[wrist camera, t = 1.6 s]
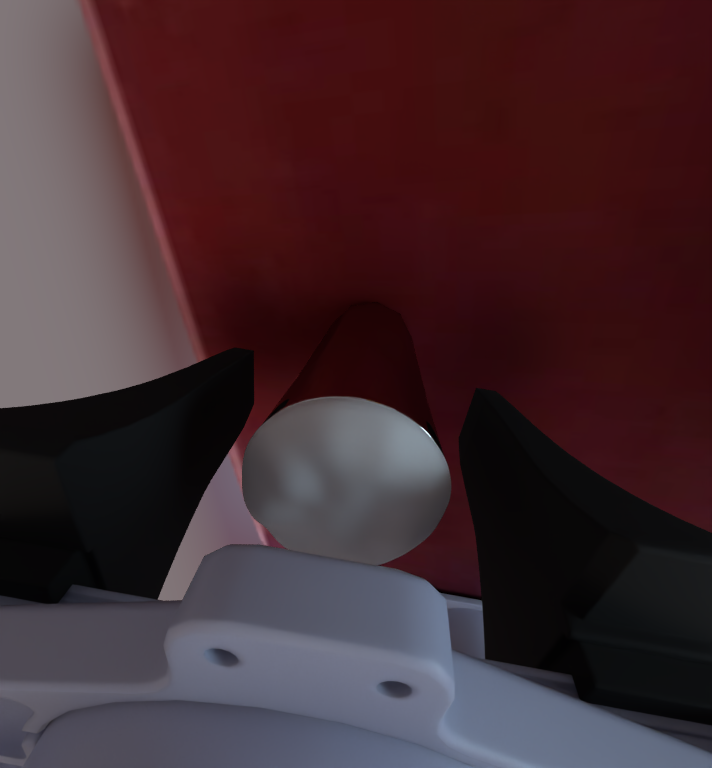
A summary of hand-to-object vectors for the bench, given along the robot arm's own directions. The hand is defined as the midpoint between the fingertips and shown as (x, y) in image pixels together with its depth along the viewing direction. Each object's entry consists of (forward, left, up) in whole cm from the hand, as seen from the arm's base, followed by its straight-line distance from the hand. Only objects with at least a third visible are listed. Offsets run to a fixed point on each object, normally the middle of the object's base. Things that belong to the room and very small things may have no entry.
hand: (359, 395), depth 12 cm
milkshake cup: (0, 0, -4) cm, 4 cm away
